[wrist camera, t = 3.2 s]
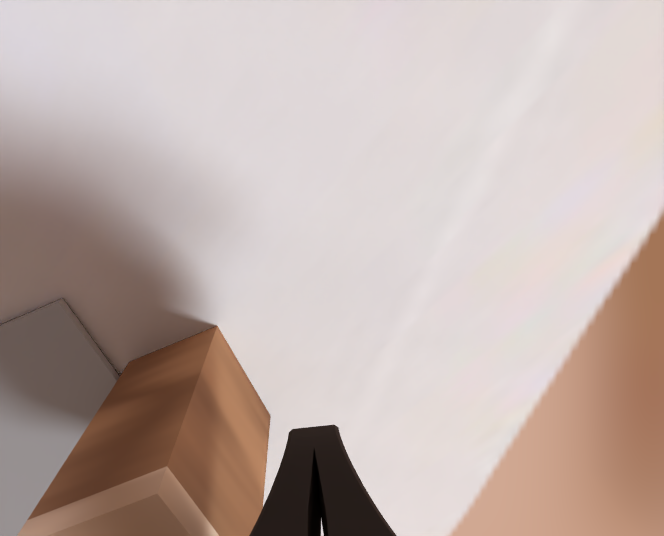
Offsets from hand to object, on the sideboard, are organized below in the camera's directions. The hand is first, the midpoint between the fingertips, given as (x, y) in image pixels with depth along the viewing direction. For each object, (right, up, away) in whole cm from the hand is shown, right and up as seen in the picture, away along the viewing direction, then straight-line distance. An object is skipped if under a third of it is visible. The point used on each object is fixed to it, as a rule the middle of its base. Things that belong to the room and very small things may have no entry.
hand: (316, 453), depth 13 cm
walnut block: (-5, 0, +6) cm, 8 cm away
